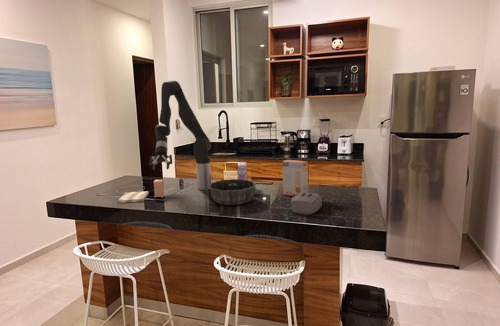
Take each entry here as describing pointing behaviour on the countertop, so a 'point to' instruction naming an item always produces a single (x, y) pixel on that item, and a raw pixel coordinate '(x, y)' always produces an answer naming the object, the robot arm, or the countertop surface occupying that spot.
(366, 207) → the countertop surface
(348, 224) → the countertop surface
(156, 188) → the terracotta block
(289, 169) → the cracker box
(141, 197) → the birch board
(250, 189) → the bundt pan
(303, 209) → the soft grey pack
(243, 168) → the candy box
